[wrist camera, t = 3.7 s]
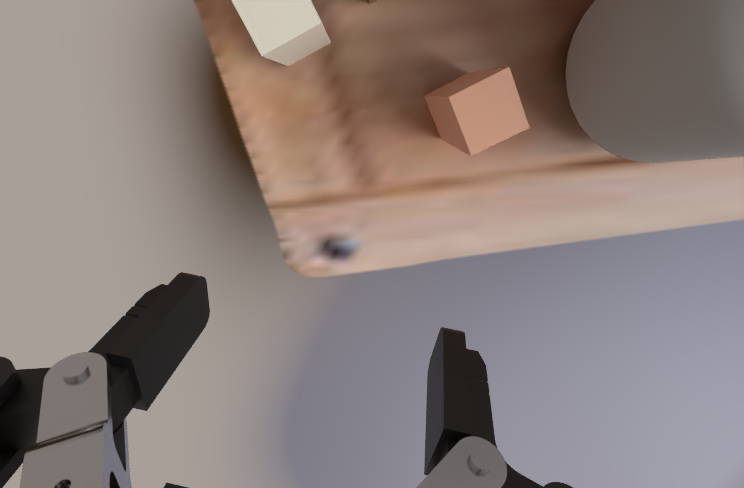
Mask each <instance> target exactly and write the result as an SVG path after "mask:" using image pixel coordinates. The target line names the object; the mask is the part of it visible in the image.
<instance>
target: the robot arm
mask: <svg viewBox="0 0 744 488" xmlns="http://www.w3.org/2000/svg"><path fill="white" fill-rule="evenodd" d="M209 312H210V309H209V300H208V291H207V282H206V279H205V278H204V277H202V276H197V275H192V274H188V273H183V272H182V273H179V274H178V275H177V276H176V277H175V278H174V279H173V280H172V281H171V282H170V283H169V284H168V285H164V284H161V285H159V286H157V287H156V288H154V289H152V290H150V291H148V292H147V293H145V294H144V295H143V296H142V298H140V300H138V301H137V302H136V304H135V306H133V307H132V308H131V309H130V310H129V311H128V312H127V313H126V315H125V316H123V317H122V318H121V319H120V320H119V321H118V322H117V323H116V324H115V325H114V326H113V327H112V328H111V329H110V330H109V331H108V332H107V333H106V334H105V335H104V336H103V337H102V338H101V340H100V341H99V342H98V343H97V344H96V345H95V346H94V347H93V348H92V349H91V350H90V351H89V352H84V353H78V354H74V355H71V356H68V357H66V358H64V359H63V360H61V361H59V362H58V363H56V364H55V365H54V366H52V367H51V368H38V369H22V370H16V369H15V368H14V366H13V364H12V362H11V361H10V360H9V359H7V358H4V357H0V488H2V487H3V486H4V485H5V484H6V482H7V481H8V480H9V479H10V478H11V476H12V475H13V474H14V473H15V471H16V470H17V469H18V468H19V467H20V465H21V464H22V463H23V468H22V475H21V483H20V488H132V487H131V481H130V470H129V454H128V437H127V422H126V416H127V415H128V414H129V412H130V411H131V410H132V408H136V409H141V410H145V411H147V410H148V408H149V407H150V405H151V404H152V403H153V401H154V400H155V398H156V397H157V395H158V394H159V393H160V391H161V389H162V388H163V387H164V385H165V384H166V383H167V381H168V379H169V378H170V377H171V375H172V374H173V372H174V371H175V370H176V368H177V367H178V365H179V364H180V362H181V361H182V360H183V358H184V357H185V355H186V354H187V352H188V351H189V350H190V348H191V347H192V345H193V344H194V342H195V341H196V340H197V338H198V337H199V335H200V334H201V332H202V331H203V329H204V328H205V326H206V324H207V322H208V318H209ZM487 381H488V379H487V371H486V365H485V363H484V361H483V359H482V358H481V356H480V354H479V352H478V351H474V350H469V349H466V341H465V333H464V332H462V331H458V330H453V329H448V328H443V327H442V328H441V329H440V332H439V334H438V337H437V340H436V344H435V347H434V349H433V352H432V356H431V359H430V363H429V369H428V380H427V410H426V440H425V469H424V474H425V475H428V476H427V477H426V478H425V479H424V480H423V481H422V482H421V483H420V484H419V485H418V487H417V488H573V487H571V486H569V485H567V484H564V483H560V482H552V483H549V484H547V485H545V486H544V487H543V486H541V485H539V484H537V483H535V482H533V481H532V480H530V479H528V478H526V477H525V476H523V475H521V474H520V473H518V472H516V471H515V470H514V469H513V468H511V467H510V466H509V465H508V464H507V463H506V461H505V460H504V458H503V456H502V455H501V453H500V452H499V450H498V449H497V446H496V443H495V436H494V428H493V420H492V412H491V403H490V396H489V387H488V383H487ZM164 488H187V487H183V486H179V485H174V484H170V483H166V485H165V487H164Z"/></svg>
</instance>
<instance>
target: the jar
mask: <svg viewBox="0 0 744 488" xmlns="http://www.w3.org/2000/svg"><path fill="white" fill-rule="evenodd" d="M566 86H567V93H568V97H569V101H570V105H571V109H572V111H573V113H574V115H575V117H576V119H577V121H578V123H579V125H580V126H581V127H582V128H583V130H584V131H585V132H586V134H587V135H588V136H589V137H590V138H591V139H592V140H593V141H594V142H595V143H597V144H598V145H599V146H600V147H601V148H603V149H604V150H606V151H608V152H610V153H612V154H614V155H616V156H618V157H622V158H625V159H629V160H633V161H641V162H674V161H688V160H702V159H716V158H730V157H744V0H595V1H594V2H593V3H592V5H591V6H590V7H589V9H588V10H587V11H586V13H585V14H584V15H583V17H582V19H581V21H580V23H579V24H578V26H577V28H576V30H575V32H574V34H573V38H572V41H571V44H570V47H569V51H568V55H567V64H566Z"/></svg>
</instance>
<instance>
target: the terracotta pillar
mask: <svg viewBox="0 0 744 488" xmlns="http://www.w3.org/2000/svg"><path fill="white" fill-rule="evenodd" d="M424 98H425V101H426V103H427V105H428V108H429V110H430V113H431V115H432V118H433V120H434V122H435V125H436V127H437V130H438V132H439V135H440V137H441V139H442V140H444V141H446V142H448V143H449V144H451V145H453V146H455V147H456V148H458V149H460V150H462V151H464V152H465V153H467V154H469V155H471V156H472V155H474V154H477V153H479V152H481V151H483V150H485V149H487V148H489V147H491V146H493V145H495V144H497V143H499V142H501V141H504V140H506V139H508V138H510V137H512V136H514V135H516V134H518V133H520V132H522V131H524V130H526V129H528V128H529V125H528V122H527V119H526V115H525V112H524V109H523V106H522V103H521V100H520V97H519V94H518V91H517V88H516V85H515V82H514V79H513V76H512V73H511V70H510V67H504V68H498V69H492V70H486V71H480V72H473V73H467V74H465V75H463V76H461V77H459V78H457V79H455V80H453V81H452V82H450V83H448V84H446V85H444V86H442V87H440V88H438V89H436V90H434V91H432V92H430V93H428V94H426V95H424Z"/></svg>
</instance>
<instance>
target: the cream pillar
mask: <svg viewBox="0 0 744 488" xmlns="http://www.w3.org/2000/svg"><path fill="white" fill-rule="evenodd" d="M232 2H233V4H234V6H235V8H236V9H237V11H238V13H239V15H240V17H241V19H242V21H243V23H244V24H245V26H246V28H247V30H248V32H249V34H250V36H251V37H252V39H253V41H254V43H255V45H256V47H257V49H258V51H259V52H260V54H261V56H263V57H265V58H268V59H270V60H273V61H276V62H278V63H281V64H284V65H286V66H290V65H292V64H294V63H296V62H297V61H299V60H301V59H303V58H305V57H307V56H308V55H310V54H312V53H314V52H316V51H317V50H319V49H321V48H323V47H325V46H327V45H328V44H330V43H331V41H330V39H329V37H328V35H327V32H326V30H325V28H324V26H323V24H322V22H321V20H320V18H319V15H318V13H317V11H316V9H315V7H314V5H313V3H312V1H311V0H232Z"/></svg>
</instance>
